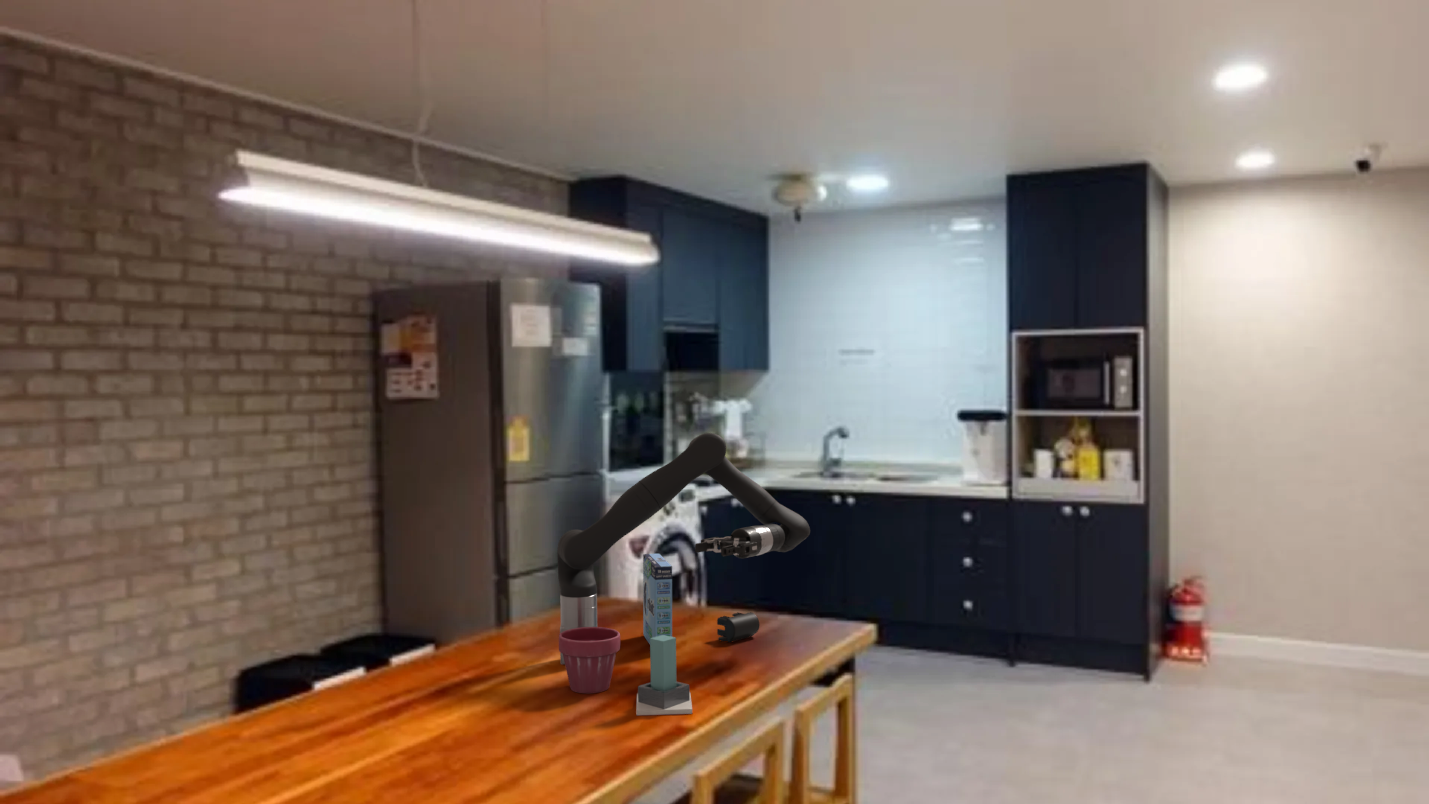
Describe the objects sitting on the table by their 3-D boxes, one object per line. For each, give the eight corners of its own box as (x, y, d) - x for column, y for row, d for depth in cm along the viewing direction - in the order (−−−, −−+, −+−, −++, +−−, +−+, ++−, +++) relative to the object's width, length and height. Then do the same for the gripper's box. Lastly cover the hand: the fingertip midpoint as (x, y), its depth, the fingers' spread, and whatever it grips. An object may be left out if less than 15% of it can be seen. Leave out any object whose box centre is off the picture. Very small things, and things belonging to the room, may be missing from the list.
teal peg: (664, 705, 233) (663, 641, 232) (651, 701, 235) (650, 638, 235) (676, 700, 236) (675, 637, 235) (663, 697, 238) (662, 634, 238)
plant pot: (631, 683, 253) (631, 629, 252) (601, 700, 240) (600, 643, 240) (580, 676, 259) (579, 623, 258) (547, 692, 246) (546, 637, 246)
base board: (636, 715, 229) (636, 710, 229) (637, 698, 241) (637, 693, 241) (692, 713, 230) (692, 709, 230) (690, 696, 242) (690, 692, 242)
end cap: (735, 645, 286) (734, 620, 286) (716, 640, 292) (715, 615, 291) (760, 638, 294) (759, 613, 293) (741, 633, 299) (741, 609, 298)
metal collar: (664, 709, 230) (664, 693, 230) (638, 702, 235) (638, 686, 235) (689, 700, 236) (689, 684, 236) (663, 693, 241) (663, 678, 241)
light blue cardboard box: (643, 635, 297) (642, 554, 296) (661, 634, 298) (660, 553, 298) (654, 654, 278) (653, 566, 277) (673, 652, 279) (672, 565, 279)
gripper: (730, 524, 276) (687, 532, 264) (773, 529, 267) (731, 537, 255) (730, 553, 277) (687, 562, 265) (773, 559, 267) (731, 568, 255)
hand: (709, 550), depth 260 cm, fingers open, 8 cm apart
